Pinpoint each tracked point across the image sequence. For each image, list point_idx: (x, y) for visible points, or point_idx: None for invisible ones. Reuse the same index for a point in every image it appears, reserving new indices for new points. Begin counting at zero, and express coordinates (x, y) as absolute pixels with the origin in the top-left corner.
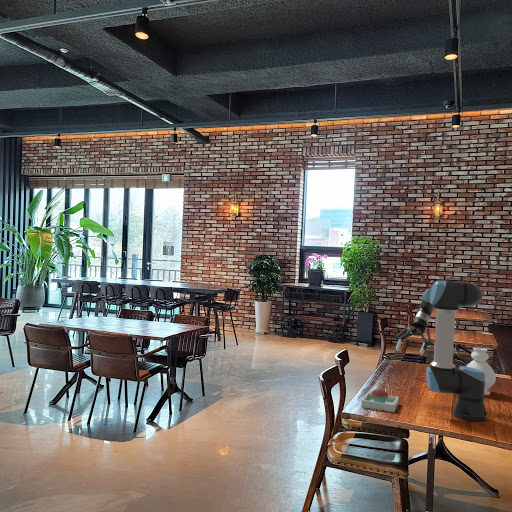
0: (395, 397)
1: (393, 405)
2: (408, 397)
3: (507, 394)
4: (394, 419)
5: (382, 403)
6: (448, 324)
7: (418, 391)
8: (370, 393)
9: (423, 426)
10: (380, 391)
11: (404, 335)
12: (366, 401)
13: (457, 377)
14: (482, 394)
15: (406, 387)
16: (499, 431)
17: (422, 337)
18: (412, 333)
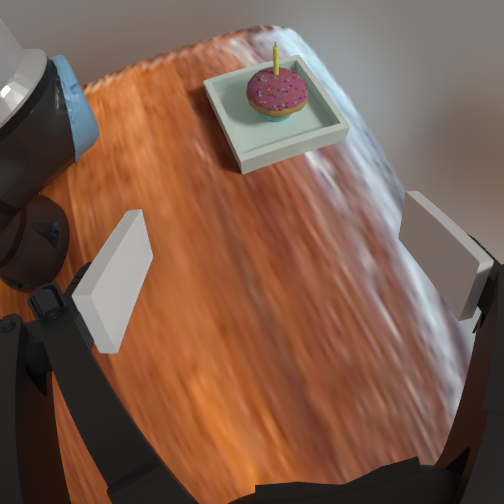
0: (248, 153)
1: (206, 80)
2: (263, 295)
3: None
4: (180, 59)
5: (238, 70)
6: None
7: (283, 427)
8: (335, 125)
9: (111, 76)
10: (266, 71)
11: (501, 330)
12: (284, 59)
13: None
14: None
15: (350, 440)
16: None
17: (106, 386)
18: (417, 464)
